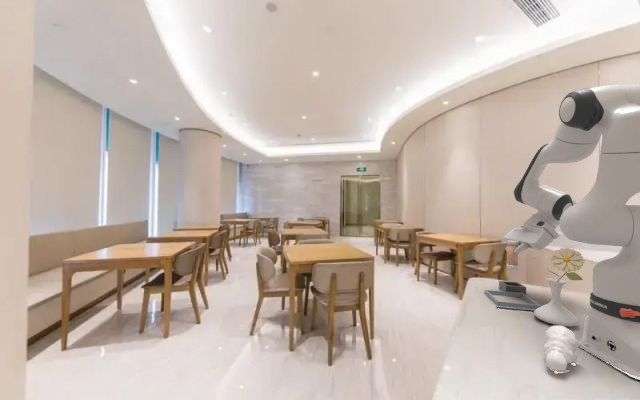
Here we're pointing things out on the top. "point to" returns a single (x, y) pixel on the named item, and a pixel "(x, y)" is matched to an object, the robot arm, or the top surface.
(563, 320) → the flower in vase
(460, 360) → the top surface
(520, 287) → the socket block
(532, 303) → the parts tray
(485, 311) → the top surface
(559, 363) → the white lumpy oval piece
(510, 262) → the tan bottle
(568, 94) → the robot arm
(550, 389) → the top surface
